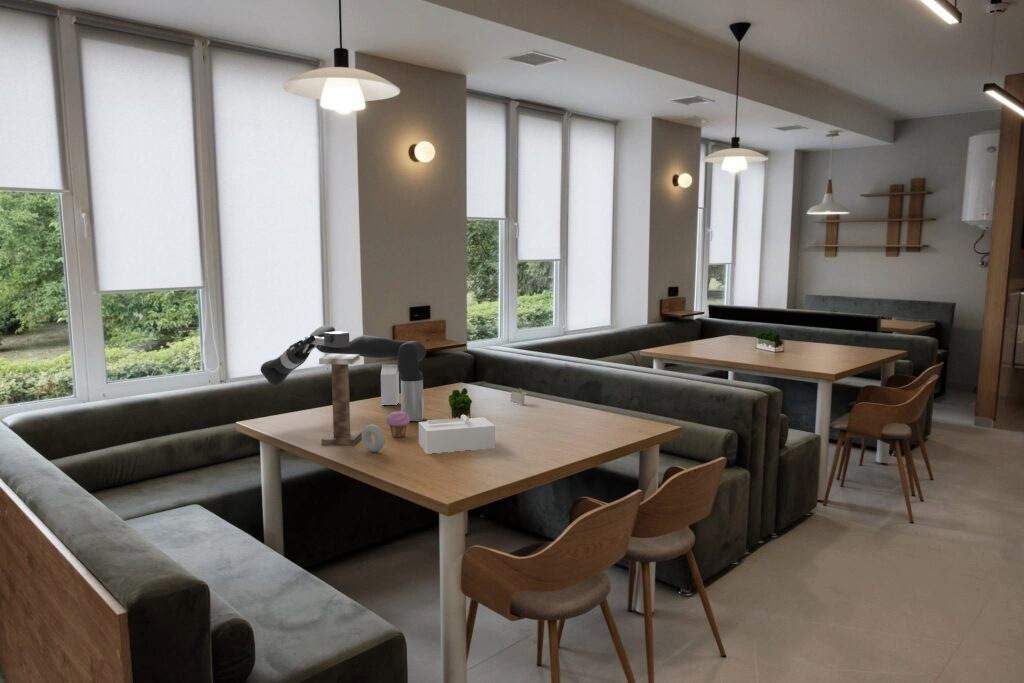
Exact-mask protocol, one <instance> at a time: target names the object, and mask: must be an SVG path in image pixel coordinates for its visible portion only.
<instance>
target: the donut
mask: <svg viewBox="0 0 1024 683" xmlns="http://www.w3.org/2000/svg"><path fill="white" fill-rule="evenodd" d="M361 432H362V437H361V441H362V444H363V446H364V447H365V449H366V450H368V451H369V452H372V453H377V452H380V451H381V450H382V449H383V448H384V446H385V441H386V438H385V434H384V432H383V430H382V429H381V427H380V426H378V425H376V424H367V425H366V426H365V427H363V429H362V431H361ZM372 435H373V436H374V441H373V439H372Z"/></svg>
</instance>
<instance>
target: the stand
mask: <svg viewBox="0 0 1024 683" xmlns="http://www.w3.org/2000/svg"><path fill="white" fill-rule="evenodd" d="M360 360H361V356H360V354H335V353H327V354H325V355H324V356H322V357H319V359H318V365H331V392H332V395H331V396H332V398H331V399H332V425H333V426H332V428H333V431H329V432H328V433H327V434H326V435H325V436H324V437H322V439H321V445H322V444H333V445H332V446H355V445H356V444H357V443H358V442H359V440H360V439H362V432H363V431H351V417H350V416H351V413H350V407H351V406H350V384H349V383H350V376H349V374H350V373H349V369H350V368H349V365H354V364H356V363H357V362H358V361H360ZM356 442H357V443H356ZM355 443H356V444H355ZM354 444H355V445H354Z"/></svg>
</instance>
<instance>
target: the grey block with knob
mask: <svg viewBox="0 0 1024 683" xmlns="http://www.w3.org/2000/svg"><path fill="white" fill-rule="evenodd" d="M309 337H310V335H309V336H305V337H304V340H305V339H308V338H309ZM311 344H316V345H324V346H327V347H336V348H338V347H345V346H350V332H348V331H338V330H335V332H326V333H324V337H318V336H315V341H313V342H312V343H311Z"/></svg>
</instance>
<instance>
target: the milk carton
mask: <svg viewBox="0 0 1024 683" xmlns="http://www.w3.org/2000/svg"><path fill="white" fill-rule="evenodd" d="M380 401H381V402H380V403H381V405H397V404H398V403H399V404H400V374H399V368H398V364H381V371H380ZM399 404H398V405H399ZM398 405H397V406H398Z"/></svg>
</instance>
